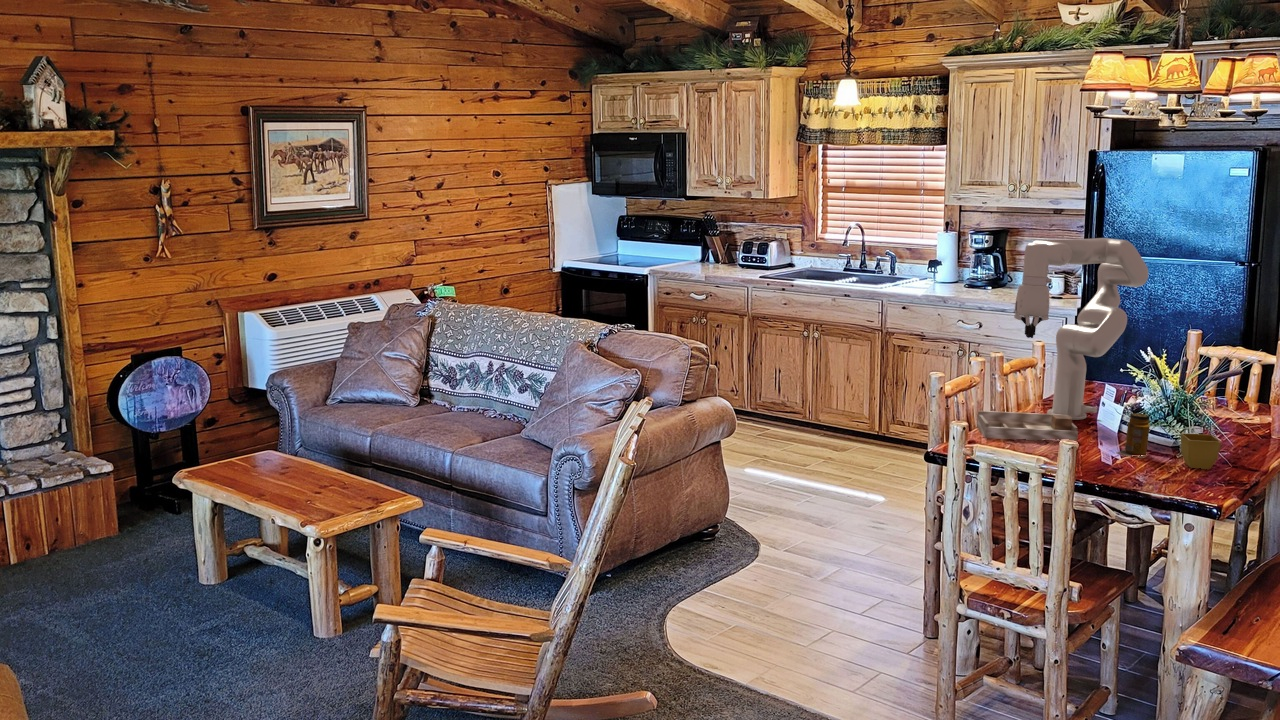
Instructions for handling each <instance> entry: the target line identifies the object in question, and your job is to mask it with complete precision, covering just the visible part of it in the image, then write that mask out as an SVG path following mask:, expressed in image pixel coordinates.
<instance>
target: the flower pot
mask: <svg viewBox="0 0 1280 720" xmlns="http://www.w3.org/2000/svg"><path fill="white" fill-rule="evenodd" d="M1221 446H1222V441H1221V440H1219V439H1218V438H1217V437H1216V436H1214V435H1212V434H1200V433H1184V432H1181V433H1180V449H1181V450H1180V451H1181V456H1182V458H1183V460H1184V461H1183V462H1184V463H1185V465H1186V466H1188V467H1189V468H1190V467H1191V468H1190V469H1192V468H1201V469H1200V470H1206V469H1207V470H1210V469H1211V468H1212V467H1213V466H1215V465H1214V464H1216V461H1217V460H1218V457H1219V453H1220V449H1221Z"/></svg>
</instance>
